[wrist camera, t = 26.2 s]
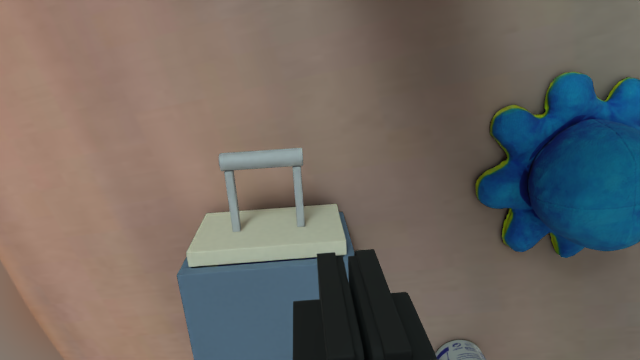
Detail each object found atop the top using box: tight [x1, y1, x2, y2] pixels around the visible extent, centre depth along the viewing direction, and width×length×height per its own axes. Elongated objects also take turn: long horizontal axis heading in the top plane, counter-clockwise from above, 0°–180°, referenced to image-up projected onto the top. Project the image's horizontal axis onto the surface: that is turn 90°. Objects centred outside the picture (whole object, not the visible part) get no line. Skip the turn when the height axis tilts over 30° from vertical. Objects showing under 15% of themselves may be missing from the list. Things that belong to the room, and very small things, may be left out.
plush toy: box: [475, 72, 640, 258], centre depth 32 cm, size 17×17×8 cm
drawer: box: [186, 148, 347, 267], centre depth 32 cm, size 20×11×7 cm, turn 3°
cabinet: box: [177, 212, 355, 360], centre depth 34 cm, size 15×13×9 cm
